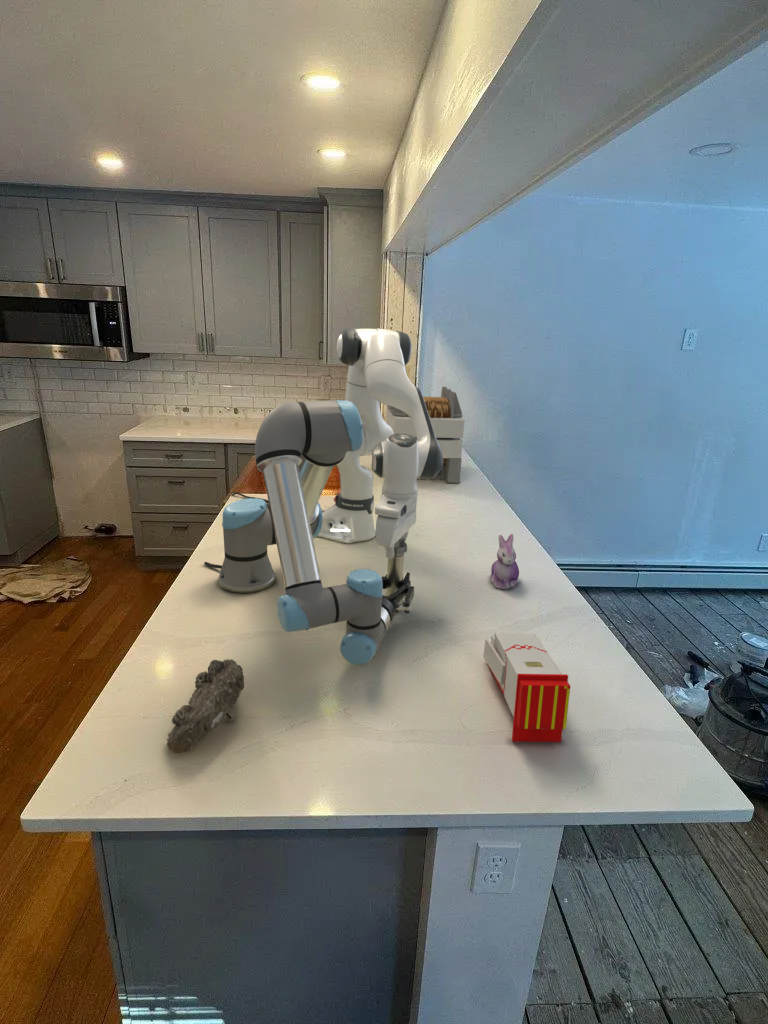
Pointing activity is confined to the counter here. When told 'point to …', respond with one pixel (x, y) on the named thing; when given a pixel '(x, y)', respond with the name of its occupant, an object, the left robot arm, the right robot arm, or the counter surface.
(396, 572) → the jar
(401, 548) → the lid
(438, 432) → the transformer
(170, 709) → the counter surface
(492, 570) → the figurine
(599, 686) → the counter surface
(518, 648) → the toy
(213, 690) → the fossil
